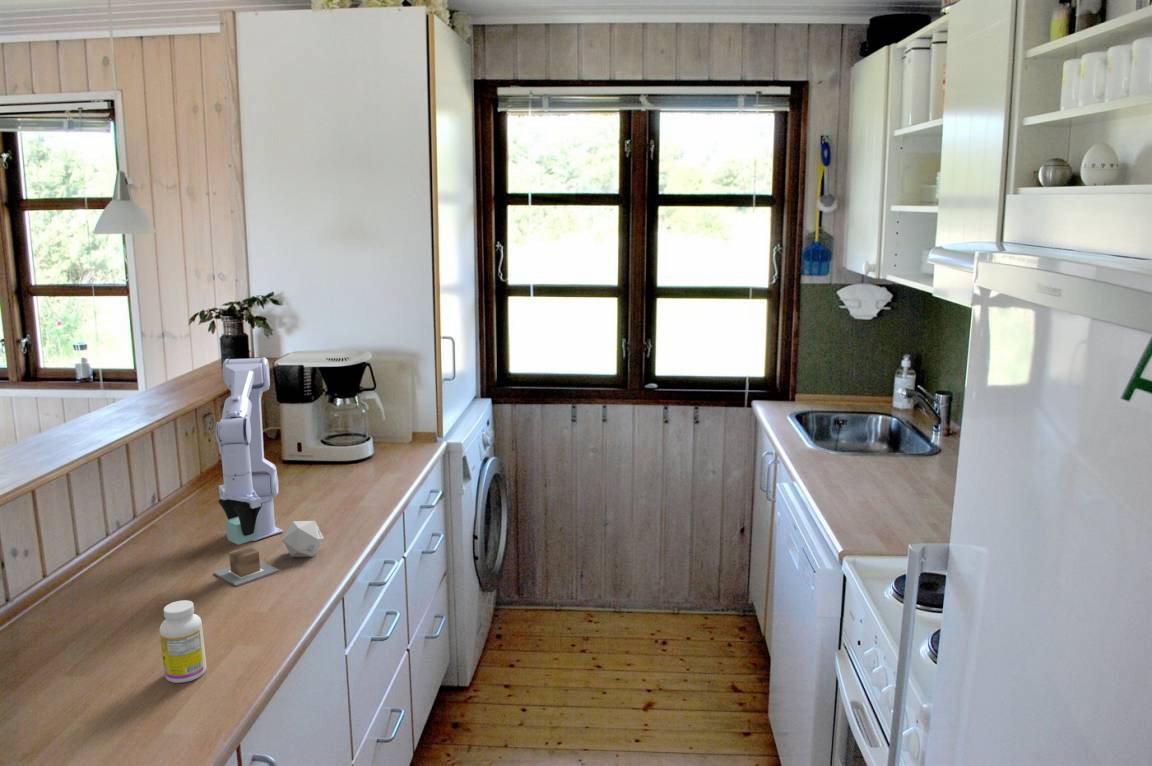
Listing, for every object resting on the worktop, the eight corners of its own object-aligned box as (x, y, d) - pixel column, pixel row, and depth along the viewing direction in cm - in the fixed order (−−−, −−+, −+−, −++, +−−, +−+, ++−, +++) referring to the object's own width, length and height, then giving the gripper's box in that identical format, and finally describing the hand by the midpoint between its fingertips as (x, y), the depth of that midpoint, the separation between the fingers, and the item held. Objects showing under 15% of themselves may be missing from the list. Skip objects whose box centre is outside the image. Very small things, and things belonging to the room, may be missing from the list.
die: (301, 567, 193) (325, 530, 194) (270, 547, 194) (293, 511, 195) (312, 565, 201) (335, 530, 202) (282, 546, 202) (304, 511, 203)
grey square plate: (213, 573, 188) (213, 571, 188) (255, 559, 196) (255, 557, 196) (236, 586, 182) (236, 584, 182) (279, 571, 189) (278, 569, 189)
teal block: (227, 539, 187) (225, 520, 186) (246, 533, 190) (245, 514, 189) (238, 544, 184) (236, 525, 183) (257, 538, 187) (255, 519, 186)
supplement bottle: (173, 664, 151) (166, 598, 149) (212, 663, 152) (205, 596, 149) (158, 685, 145) (150, 616, 142) (199, 683, 145) (191, 614, 143)
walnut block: (230, 571, 189) (229, 552, 188) (249, 565, 192) (248, 546, 191) (241, 577, 186) (239, 557, 185) (260, 570, 189) (258, 551, 188)
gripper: (203, 469, 186) (209, 528, 189) (236, 483, 177) (242, 545, 179) (233, 462, 191) (239, 519, 194) (267, 475, 182) (272, 535, 185)
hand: (242, 531), depth 187 cm, fingers closed on teal block, 4 cm apart
